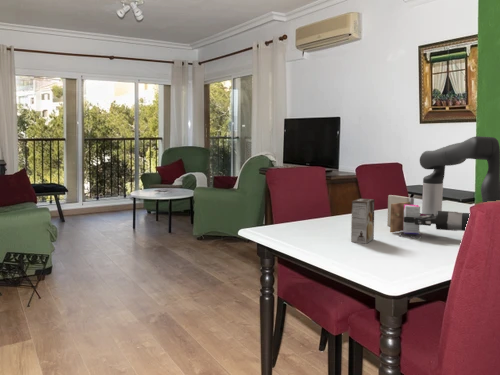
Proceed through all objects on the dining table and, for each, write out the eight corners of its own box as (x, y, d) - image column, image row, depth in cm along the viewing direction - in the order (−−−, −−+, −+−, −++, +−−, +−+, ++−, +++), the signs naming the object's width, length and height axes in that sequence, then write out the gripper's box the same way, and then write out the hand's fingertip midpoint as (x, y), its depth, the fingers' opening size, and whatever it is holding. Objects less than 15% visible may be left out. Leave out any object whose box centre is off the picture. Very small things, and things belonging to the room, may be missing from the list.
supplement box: (419, 234, 184) (420, 206, 182) (404, 234, 185) (404, 206, 183) (417, 231, 189) (418, 204, 188) (402, 231, 190) (403, 204, 189)
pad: (401, 232, 192) (401, 232, 192) (422, 234, 189) (422, 233, 189) (398, 236, 185) (398, 235, 185) (419, 238, 182) (419, 237, 182)
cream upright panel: (390, 225, 208) (391, 195, 206) (413, 230, 197) (414, 198, 196) (387, 225, 207) (388, 195, 205) (410, 230, 196) (411, 198, 195)
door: (407, 229, 197) (408, 201, 196) (411, 230, 195) (412, 202, 194) (390, 232, 191) (390, 203, 190) (394, 233, 189) (395, 204, 188)
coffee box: (358, 237, 184) (359, 198, 182) (374, 239, 180) (375, 199, 179) (350, 242, 176) (351, 200, 174) (366, 244, 173) (367, 202, 171)
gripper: (450, 208, 186) (408, 206, 193) (448, 214, 173) (402, 211, 181) (450, 226, 187) (407, 223, 194) (447, 233, 174) (402, 230, 181)
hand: (405, 217), depth 187 cm, fingers closed on supplement box, 7 cm apart
